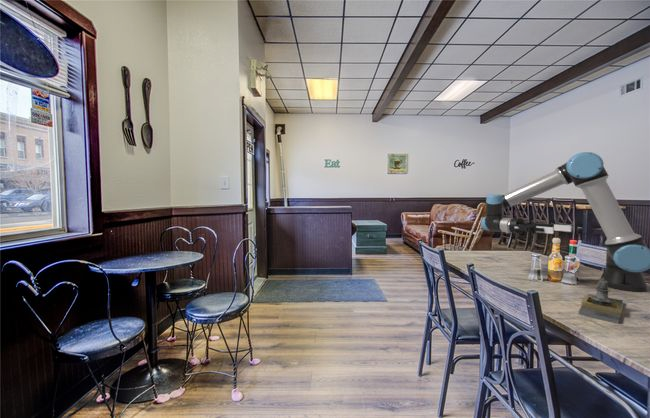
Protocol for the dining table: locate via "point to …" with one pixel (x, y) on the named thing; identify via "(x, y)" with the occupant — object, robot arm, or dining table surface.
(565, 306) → the dining table surface
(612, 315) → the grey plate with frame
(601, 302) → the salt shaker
